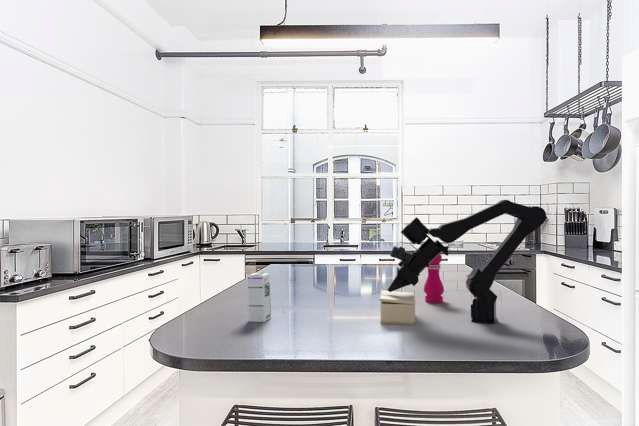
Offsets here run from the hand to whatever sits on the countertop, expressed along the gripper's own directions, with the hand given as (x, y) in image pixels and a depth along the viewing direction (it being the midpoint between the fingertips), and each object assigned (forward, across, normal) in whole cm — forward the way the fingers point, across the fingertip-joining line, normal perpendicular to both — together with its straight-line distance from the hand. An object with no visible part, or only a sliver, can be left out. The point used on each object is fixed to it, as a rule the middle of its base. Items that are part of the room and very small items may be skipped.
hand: (388, 290), depth 144 cm
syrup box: (+35, +5, -22) cm, 41 cm away
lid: (0, 0, +3) cm, 3 cm away
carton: (+4, 0, +8) cm, 9 cm away
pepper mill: (-5, -28, +18) cm, 34 cm away
